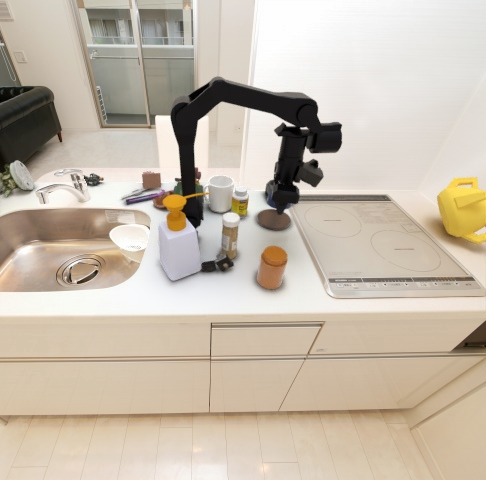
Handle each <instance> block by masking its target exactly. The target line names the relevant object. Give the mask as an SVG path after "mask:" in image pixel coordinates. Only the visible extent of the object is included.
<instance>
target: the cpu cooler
mask: <svg viewBox="0 0 486 480" xmlns="http://www.w3.org/2000/svg"><path fill="white" fill-rule="evenodd" d="M265 185H266V186H265V190H264V194H265V197H266V199H267V198H268V194H269V193H271V192H272V191H273V186H275V182H274V178H273V179H271V180H270V179H269V181H267V183H266V184H265ZM293 185H295V183H293Z"/></svg>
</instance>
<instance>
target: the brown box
mask: <svg viewBox="0 0 486 480" xmlns="http://www.w3.org/2000/svg"><path fill="white" fill-rule="evenodd" d="M141 177H142V178H141V179H142V189H147V190H149V189H150V190H151V189H160V188H162V177H161V172H153V171H152V170H149V171H143V172H142V174H141Z"/></svg>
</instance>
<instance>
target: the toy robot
mask: <svg viewBox="0 0 486 480" xmlns="http://www.w3.org/2000/svg"><path fill="white" fill-rule="evenodd" d="M203 187H204V185H203V184H199V185H198V184H196V194H198V193H203ZM172 190H173V195H174V194H176V195H181V196H182V184H177V183H176V185H174V187H173V189H172ZM200 196H202V199H203V204H204V203H205V198H204V195H198V196H197V197H200Z"/></svg>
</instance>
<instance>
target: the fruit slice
mask: <svg viewBox="0 0 486 480" xmlns="http://www.w3.org/2000/svg"><path fill="white" fill-rule="evenodd" d="M170 195H173V192H172V191H171V190H168V191H165V192H164V193H163V194H162V195H161V196H158V197H156V198H154V199H152V203H153V205H154V206H155V207H156V208H159V209H167V207H166V206H164V205H163V200H164V199H165V198H166V197H167V196H170Z"/></svg>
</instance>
